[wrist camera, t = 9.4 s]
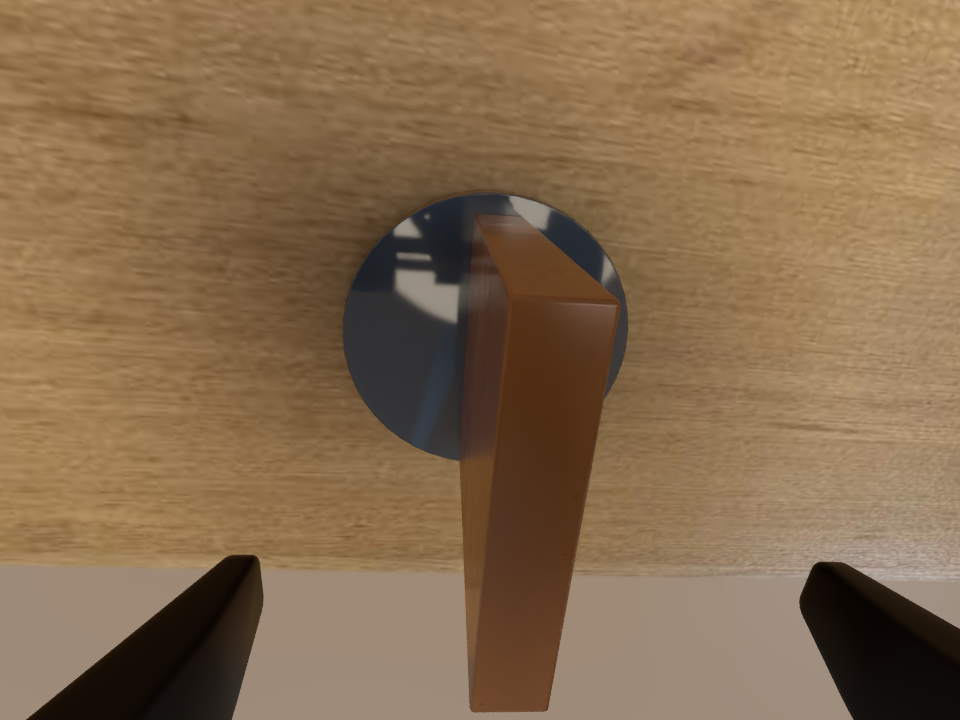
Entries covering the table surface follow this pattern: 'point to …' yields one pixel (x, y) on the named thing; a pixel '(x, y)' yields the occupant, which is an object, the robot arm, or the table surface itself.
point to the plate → (442, 311)
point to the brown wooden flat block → (526, 452)
